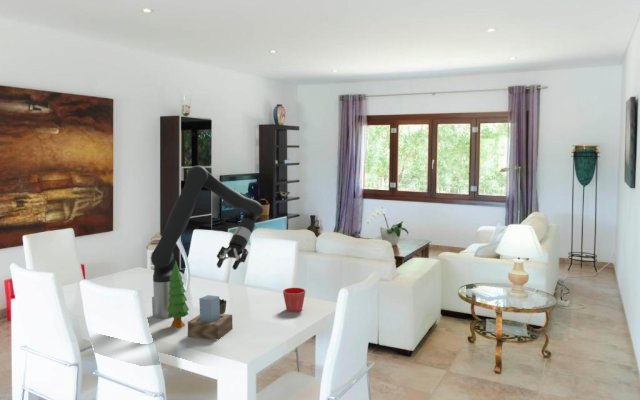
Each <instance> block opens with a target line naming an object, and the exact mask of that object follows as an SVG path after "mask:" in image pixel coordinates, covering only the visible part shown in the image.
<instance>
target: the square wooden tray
mask: <svg viewBox="0 0 640 400" xmlns="http://www.w3.org/2000/svg"><path fill="white" fill-rule="evenodd" d="M232 330H233V314H230V313H229V314H227V313H224V314H220V319H219V320H217V321H215V322H204V321H200V314H198V315H197V316H195V317H194V318H192V319H190V320H189V321H187V337H188V338H194V339H206V340H214V339H218V340H220V339H222V338H223V337H224V336H225V335H227V334H228V333H229V332H231V331H232ZM221 337H222V338H221ZM218 340H217V341H218Z"/></svg>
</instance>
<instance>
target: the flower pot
mask: <svg viewBox="0 0 640 400" xmlns="http://www.w3.org/2000/svg"><path fill="white" fill-rule="evenodd" d="M282 294H283V300H284V304H285V309H286V311H288V312H293V313H294V312H296V313H297V312H301V311H302V310H303V306H304V302H305V295H306V290H305V288H301V287H289V288H288V287H287V288H285V289H283V290H282Z"/></svg>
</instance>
